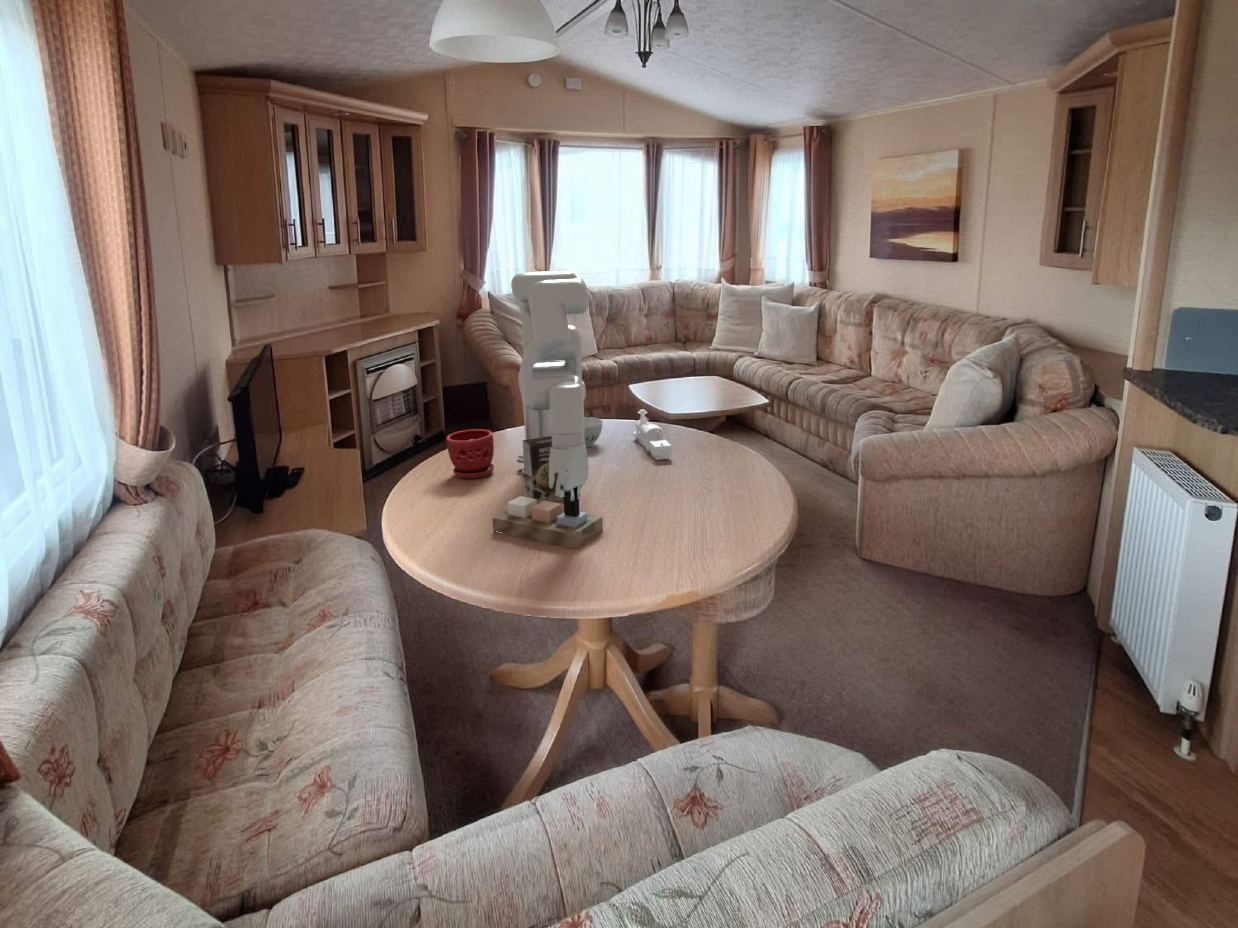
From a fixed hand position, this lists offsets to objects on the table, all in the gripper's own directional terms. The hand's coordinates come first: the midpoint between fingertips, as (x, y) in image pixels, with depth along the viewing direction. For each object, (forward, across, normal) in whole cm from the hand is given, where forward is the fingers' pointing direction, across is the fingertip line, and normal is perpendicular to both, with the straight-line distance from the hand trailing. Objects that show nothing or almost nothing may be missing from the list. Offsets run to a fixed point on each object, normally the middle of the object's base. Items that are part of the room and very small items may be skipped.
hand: (571, 514), depth 186 cm
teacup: (+5, -65, -38) cm, 76 cm away
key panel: (+5, 0, -7) cm, 9 cm away
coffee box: (+6, -18, -20) cm, 28 cm away
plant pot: (+6, -26, -51) cm, 58 cm away
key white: (+2, 0, -14) cm, 14 cm away
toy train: (+6, -71, -17) cm, 73 cm away
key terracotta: (+2, 0, -7) cm, 7 cm away
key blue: (+4, 0, 0) cm, 4 cm away
